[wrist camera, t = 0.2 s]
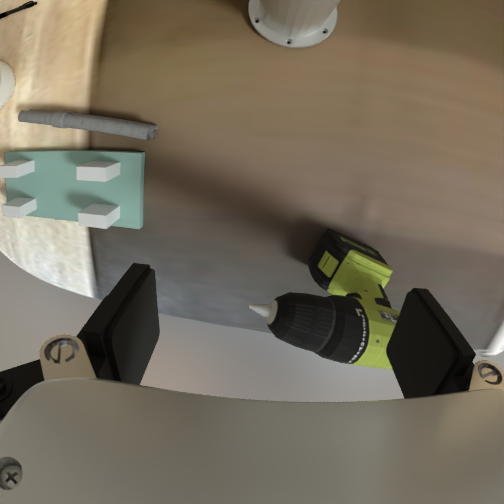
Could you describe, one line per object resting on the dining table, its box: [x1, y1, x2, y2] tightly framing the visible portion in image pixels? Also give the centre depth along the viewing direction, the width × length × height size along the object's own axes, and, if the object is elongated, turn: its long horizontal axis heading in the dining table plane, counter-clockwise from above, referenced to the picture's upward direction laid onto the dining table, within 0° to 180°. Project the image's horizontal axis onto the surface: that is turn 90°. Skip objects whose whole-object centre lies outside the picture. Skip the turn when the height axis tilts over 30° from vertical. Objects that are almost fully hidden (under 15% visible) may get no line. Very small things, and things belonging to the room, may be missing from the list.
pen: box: [0, 1, 37, 19], centre depth 30 cm, size 14×2×1 cm, turn 81°
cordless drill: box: [248, 229, 400, 369], centre depth 38 cm, size 23×7×25 cm, turn 67°
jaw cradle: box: [0, 150, 145, 229], centre depth 43 cm, size 12×30×6 cm, turn 83°
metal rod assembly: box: [18, 110, 158, 140], centre depth 39 cm, size 26×3×5 cm, turn 75°
